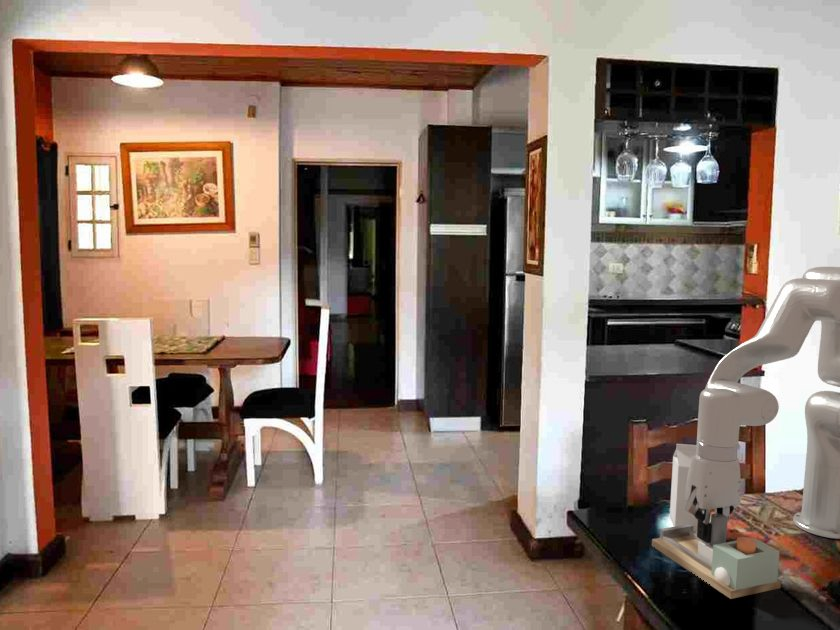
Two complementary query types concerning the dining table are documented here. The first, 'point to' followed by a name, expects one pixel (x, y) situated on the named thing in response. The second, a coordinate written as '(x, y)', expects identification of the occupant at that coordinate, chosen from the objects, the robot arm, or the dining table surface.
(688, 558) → the track
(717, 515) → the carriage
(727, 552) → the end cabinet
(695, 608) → the dining table surface
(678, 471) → the milk carton
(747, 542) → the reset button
